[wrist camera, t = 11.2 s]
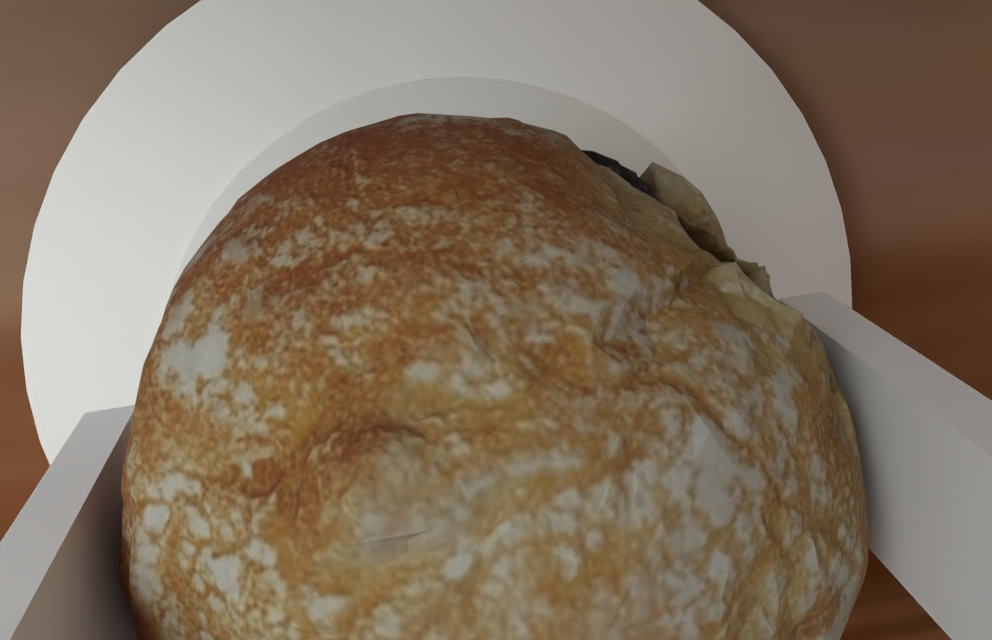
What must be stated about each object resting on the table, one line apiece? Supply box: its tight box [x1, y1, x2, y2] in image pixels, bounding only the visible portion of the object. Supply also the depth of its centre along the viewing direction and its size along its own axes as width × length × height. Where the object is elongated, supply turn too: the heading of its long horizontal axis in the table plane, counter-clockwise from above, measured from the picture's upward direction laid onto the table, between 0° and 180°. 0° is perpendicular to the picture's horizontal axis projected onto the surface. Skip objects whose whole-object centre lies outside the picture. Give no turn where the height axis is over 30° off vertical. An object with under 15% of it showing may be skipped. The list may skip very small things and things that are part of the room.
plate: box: [21, 0, 852, 465], centre depth 17 cm, size 15×15×1 cm
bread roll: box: [120, 113, 869, 640], centre depth 12 cm, size 10×10×8 cm
